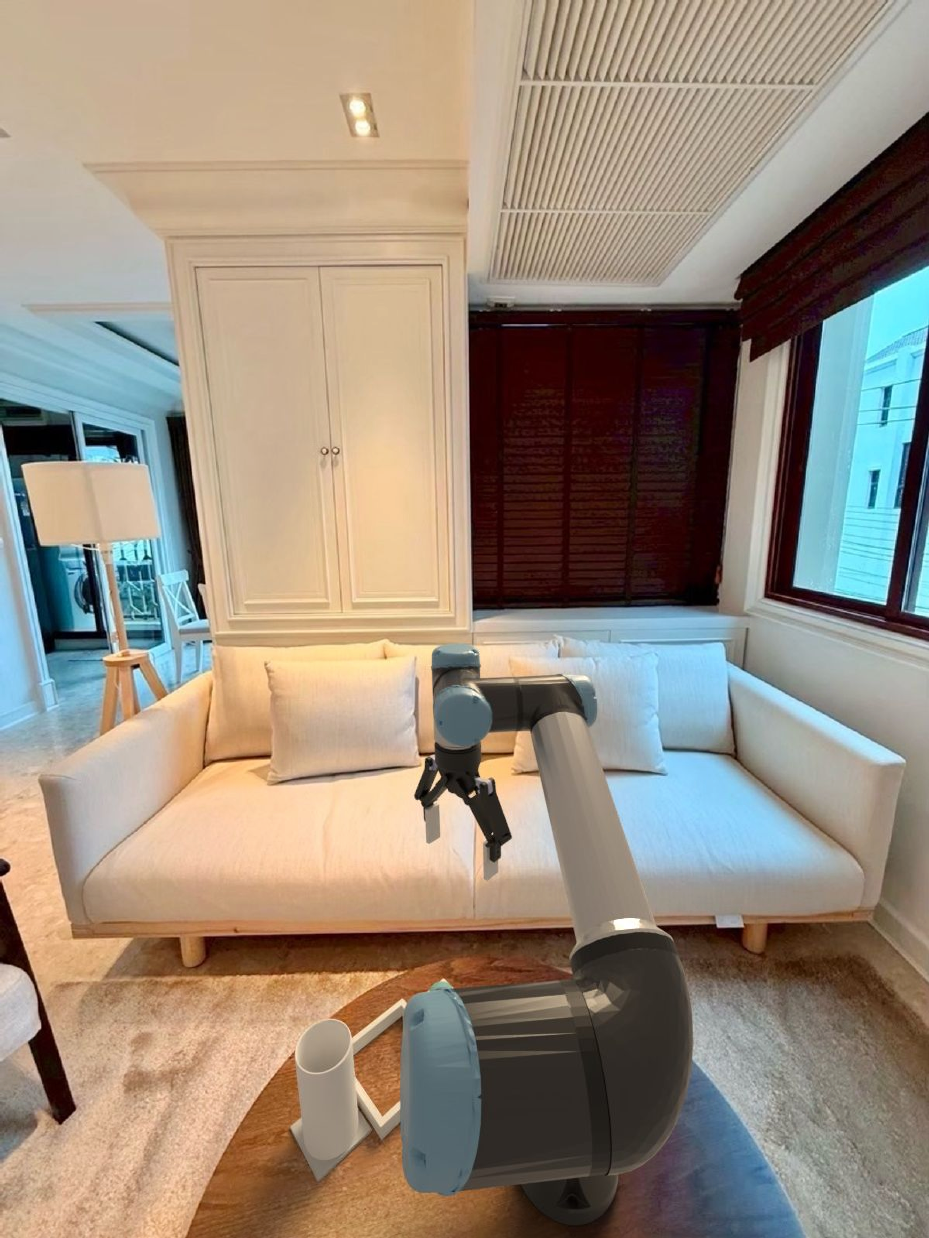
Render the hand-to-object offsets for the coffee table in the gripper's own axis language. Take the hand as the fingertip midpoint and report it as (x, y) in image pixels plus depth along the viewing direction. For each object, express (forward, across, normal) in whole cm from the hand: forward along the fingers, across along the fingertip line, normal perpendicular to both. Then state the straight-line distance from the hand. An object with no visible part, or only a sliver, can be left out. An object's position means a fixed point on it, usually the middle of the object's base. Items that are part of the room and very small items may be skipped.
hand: (460, 856), depth 88 cm
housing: (+36, +5, +9) cm, 38 cm away
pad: (+36, +4, +26) cm, 45 cm away
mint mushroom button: (+34, +4, +2) cm, 34 cm away
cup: (+36, +4, +25) cm, 44 cm away
